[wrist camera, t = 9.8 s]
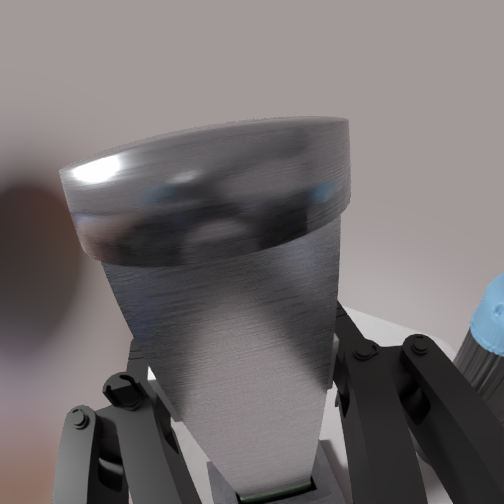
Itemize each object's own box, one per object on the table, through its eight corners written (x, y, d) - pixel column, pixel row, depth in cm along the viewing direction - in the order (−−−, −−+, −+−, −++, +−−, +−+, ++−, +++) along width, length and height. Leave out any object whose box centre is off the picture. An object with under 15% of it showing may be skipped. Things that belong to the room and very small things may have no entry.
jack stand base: (209, 465, 28) (166, 407, 20) (316, 440, 30) (327, 371, 22) (229, 559, 16) (183, 563, 8) (354, 528, 17) (399, 509, 10)
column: (233, 468, 21) (106, 148, 8) (298, 453, 22) (288, 115, 9) (247, 523, 16) (-4, 203, 3) (318, 506, 16) (419, 127, 4)
